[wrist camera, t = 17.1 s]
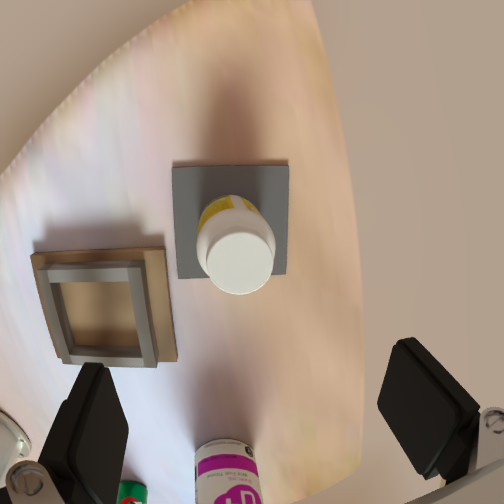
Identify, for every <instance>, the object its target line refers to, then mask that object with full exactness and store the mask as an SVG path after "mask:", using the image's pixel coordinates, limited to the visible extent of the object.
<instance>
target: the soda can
mask: <svg viewBox="0 0 504 504" xmlns="http://www.w3.org/2000/svg"><path fill="white" fill-rule="evenodd" d="M147 495H148V491H147V489H146V488H145V487H144V486H143V485H142V484H140V483H137V482H134V481H123V482H121V483H120V484H119V490H118V496H117V503H116V504H147Z"/></svg>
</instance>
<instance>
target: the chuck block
mask: <svg viewBox="0 0 504 504" xmlns="http://www.w3.org/2000/svg"><path fill="white" fill-rule="evenodd" d="M30 258H31V263H32V267H33V272H34V277H35V281H36V285H37V290H38V294H39V298H40V302H41V305H42V309H43V313H44V316H45V320H46V323H47V326H48V330H49V333H50V336H51V339H52V342H53V345H54V348H55V351H56V354H57V357H58V358H61V359H62V362H63V364H72V365H83V364H84V363H85V362H98V363H103V365H104V366H105V367H135V368H157V363H158V362H177V359H178V354H177V347H176V340H175V333H174V325H173V317H172V309H171V301H170V292H169V282H168V272H167V261H166V249H165V247H146V248H122V249H99V250H77V251H56V252H36V253H33V254H32V255H30Z"/></svg>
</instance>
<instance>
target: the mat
mask: <svg viewBox="0 0 504 504" xmlns="http://www.w3.org/2000/svg"><path fill="white" fill-rule="evenodd" d="M172 190H173V211H174V229H175V244H176V258H177V270H178V279H191V278H210V277H209V276H208V275H207V274H206V273H205V271H204V270H203V269H202V267H201V265H200V263H199V260H198V257H197V249H196V244H197V234H198V226H199V220H200V216H201V214H202V212H203V210H204V208H205V207H206V206H207V205H208V204H209V203H210V202H211V201H212V200H214V199H216V198H218V197H220V196H224V195H237V196H240V197H243V198H245V199H247V200H248V201H250V202H251V203H252V204H253V205H254V206H255V207H256V208H257V210H258V211H259V212H260V214H261V215H262V216H263V218H264V219H265V221H266V222H267V223H268V225H269V226H270V228H271V230H272V232H273V234H274V237H275V243H276V250H275V257H274V260H273V262H274V263H273V270H272V273H271V275H282V274H286V263H287V235H288V199H289V166H283V165H238V166H199V167H176V168H172Z"/></svg>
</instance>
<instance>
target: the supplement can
mask: <svg viewBox="0 0 504 504" xmlns="http://www.w3.org/2000/svg"><path fill="white" fill-rule="evenodd" d="M195 502H196V504H264V503H263V498H262V493H261V488H260V482H259V477H258V472H257V466H256V461H255V455H254V451H253V450H252V448H251V447H250V446H248V445H246V444H244V443H242V442H240V441H237V440H233V439H218V440H213V441H210V442H208V443H206V444H204V445H202V446H201V447H200V448H199V449H198V450H197V451H196V454H195Z"/></svg>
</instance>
